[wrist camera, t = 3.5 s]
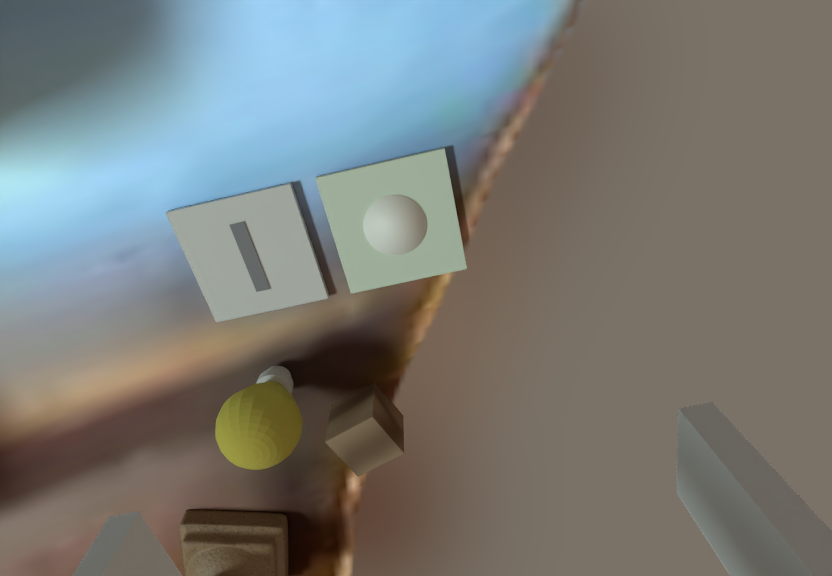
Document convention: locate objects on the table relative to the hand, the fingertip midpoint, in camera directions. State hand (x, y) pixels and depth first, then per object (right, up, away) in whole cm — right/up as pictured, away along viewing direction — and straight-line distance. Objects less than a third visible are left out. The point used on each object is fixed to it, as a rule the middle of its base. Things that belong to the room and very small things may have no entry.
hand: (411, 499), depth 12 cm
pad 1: (-13, +8, +28) cm, 32 cm away
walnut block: (-5, -7, +35) cm, 36 cm away
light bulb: (-13, -3, +33) cm, 35 cm away
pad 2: (-2, +10, +27) cm, 29 cm away
